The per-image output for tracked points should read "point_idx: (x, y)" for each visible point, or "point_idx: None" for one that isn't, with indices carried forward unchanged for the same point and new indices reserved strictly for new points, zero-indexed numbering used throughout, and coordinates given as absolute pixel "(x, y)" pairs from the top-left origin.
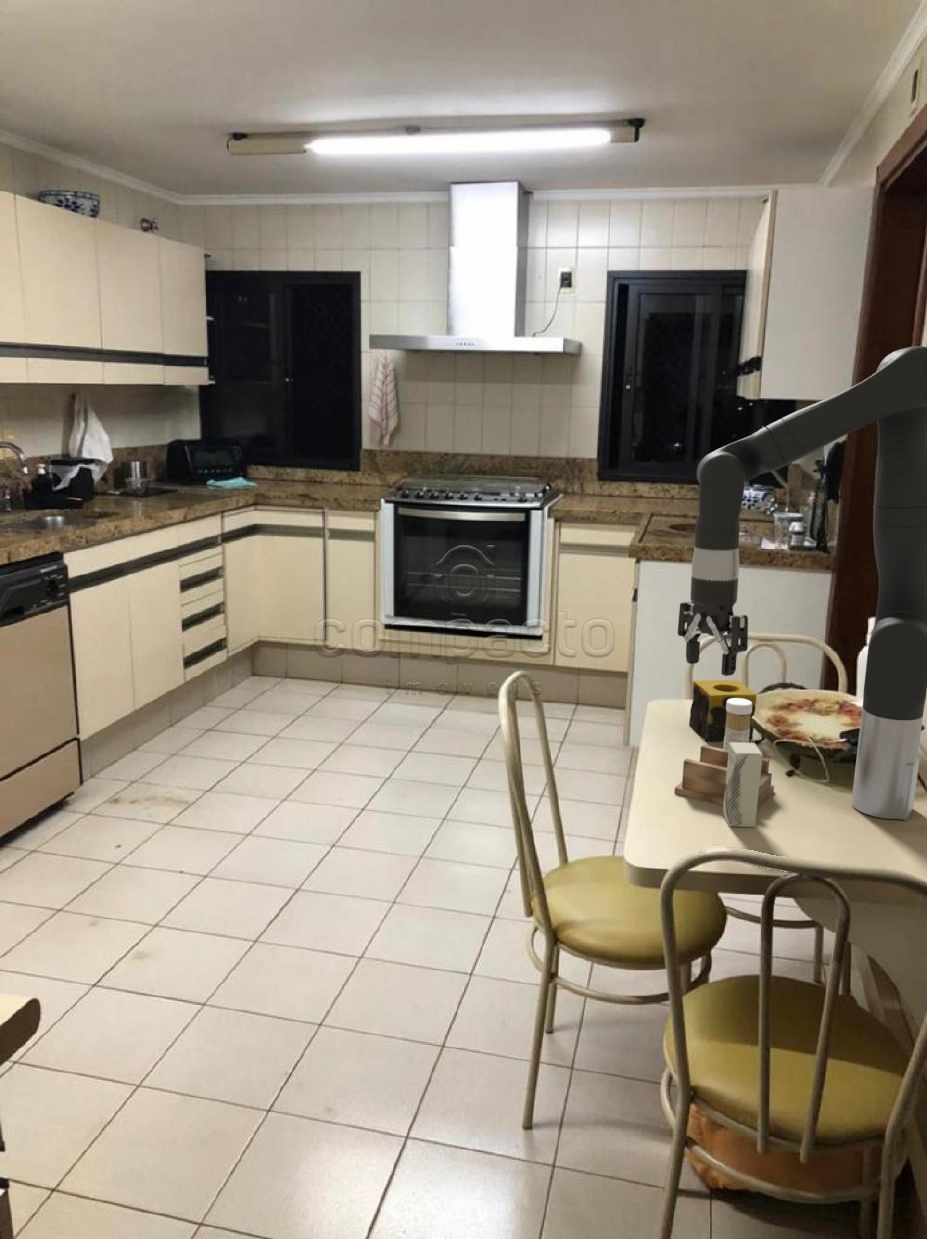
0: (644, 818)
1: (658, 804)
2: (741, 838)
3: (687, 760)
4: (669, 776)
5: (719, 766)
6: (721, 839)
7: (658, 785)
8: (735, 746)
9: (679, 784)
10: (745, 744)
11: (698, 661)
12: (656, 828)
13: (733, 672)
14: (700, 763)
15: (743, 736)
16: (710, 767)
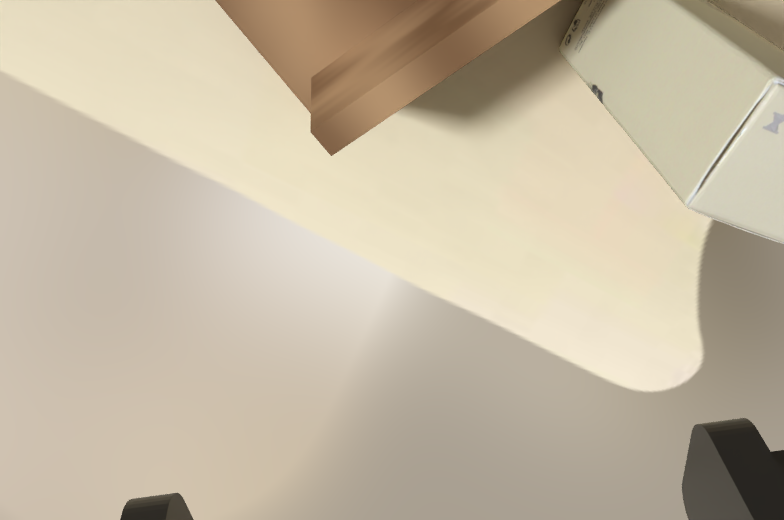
0: (466, 292)
1: (391, 212)
2: None
3: (335, 140)
4: (149, 44)
5: (456, 36)
6: None
7: (234, 135)
8: (749, 212)
9: (297, 92)
10: (764, 148)
11: (173, 497)
12: (538, 291)
13: (751, 433)
14: (387, 102)
15: None
16: (440, 78)
